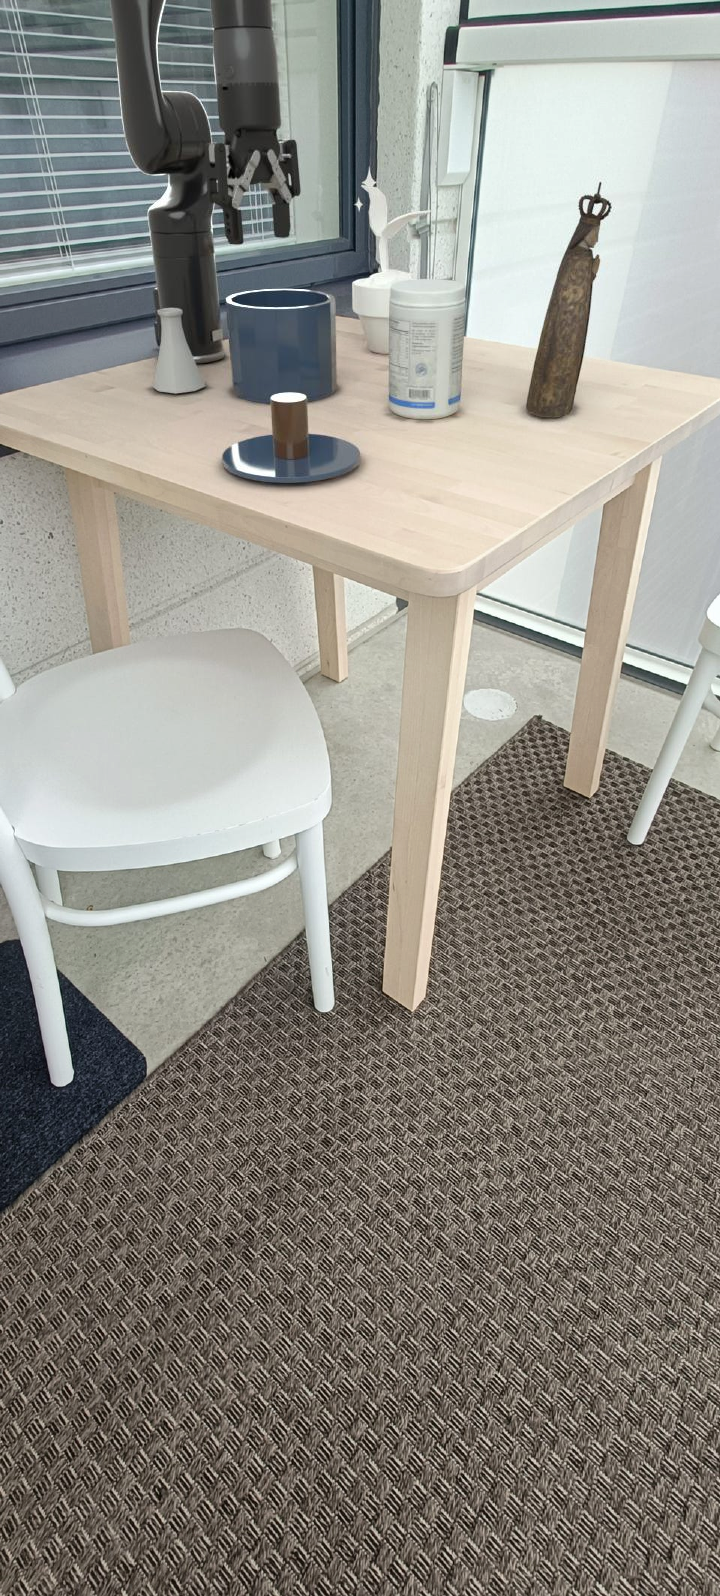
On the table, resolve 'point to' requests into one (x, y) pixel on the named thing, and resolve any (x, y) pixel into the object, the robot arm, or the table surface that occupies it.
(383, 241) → the potted plant
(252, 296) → the canister
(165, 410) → the table surface
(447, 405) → the supplement tub
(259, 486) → the table surface
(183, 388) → the flask
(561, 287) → the statue
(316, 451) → the lid
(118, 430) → the table surface
